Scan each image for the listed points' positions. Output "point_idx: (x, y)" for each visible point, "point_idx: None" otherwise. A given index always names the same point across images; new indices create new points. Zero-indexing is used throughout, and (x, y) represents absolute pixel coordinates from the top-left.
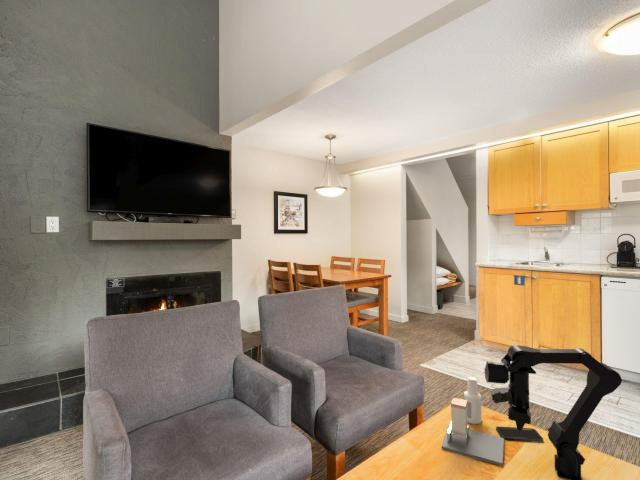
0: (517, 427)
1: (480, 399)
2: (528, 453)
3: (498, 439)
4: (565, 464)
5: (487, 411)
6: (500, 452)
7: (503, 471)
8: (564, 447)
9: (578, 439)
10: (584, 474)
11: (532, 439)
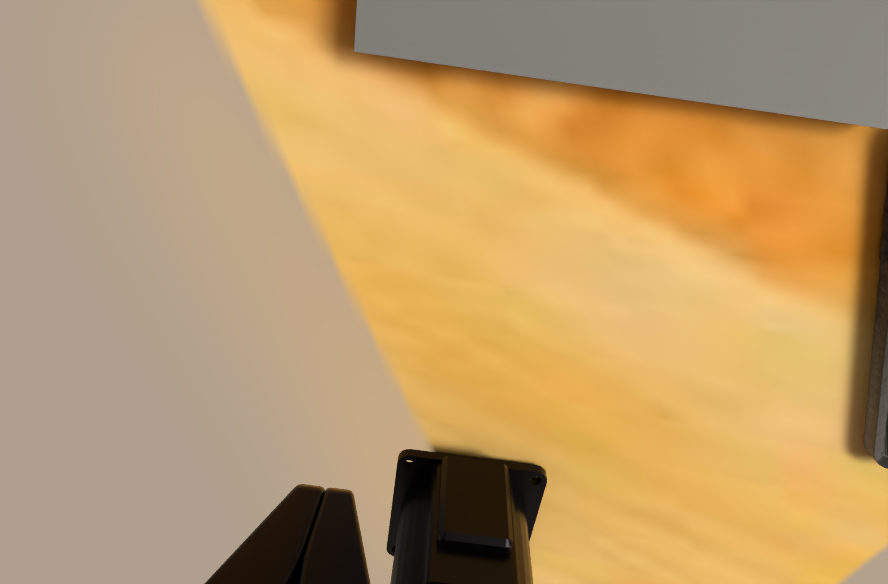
0: (257, 533)
1: None
2: (662, 318)
3: (858, 56)
4: (397, 570)
5: None
6: (565, 50)
7: (273, 47)
8: None
9: None
10: None
11: (884, 393)
